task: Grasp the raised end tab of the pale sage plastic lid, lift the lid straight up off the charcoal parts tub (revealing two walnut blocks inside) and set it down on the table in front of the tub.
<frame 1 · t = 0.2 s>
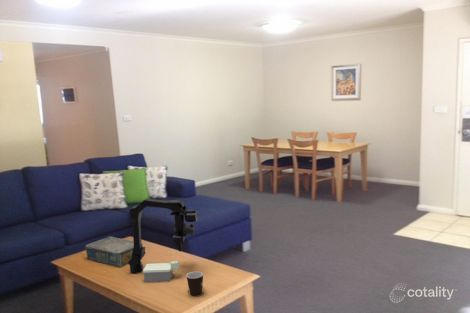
hand: (181, 248, 245), 14 cm above the table, fingers open, 9 cm apart
block b: (164, 278, 238), point 1 cm above the table, touching tub
tub: (159, 279, 238), on the table
lid: (158, 270, 237), point 5 cm above the table, touching tub
coffee mug: (197, 292, 220), on the table
block a: (153, 278, 238), point 1 cm above the table, touching tub
metal box: (115, 258, 276), on the table
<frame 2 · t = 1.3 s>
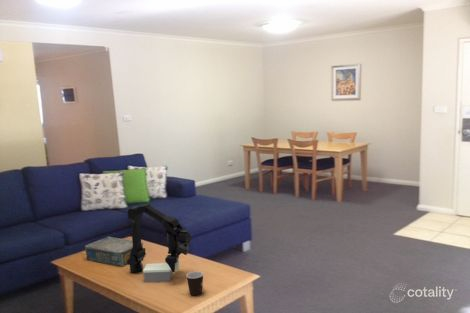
hand: (175, 268, 237), 6 cm above the table, fingers open, 9 cm apart
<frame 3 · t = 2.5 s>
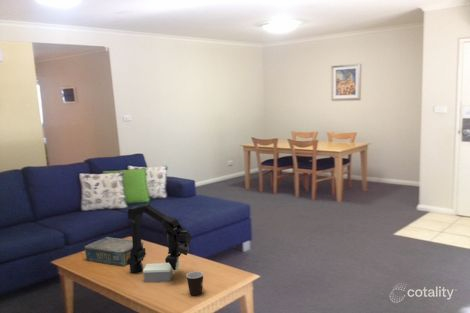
hand: (175, 268, 237), 6 cm above the table, fingers closed on lid, 3 cm apart
lid: (158, 270, 237), point 5 cm above the table, touching gripper, tub
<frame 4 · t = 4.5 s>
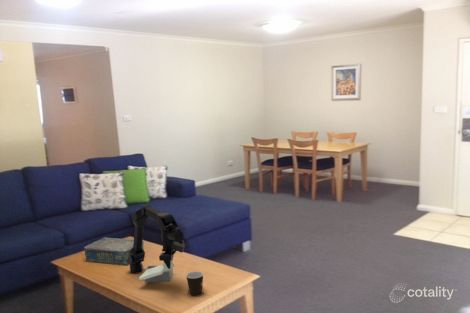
hand: (170, 267, 223), 12 cm above the table, fingers closed on lid, 4 cm apart
lid: (155, 273, 227), point 8 cm above the table, tilted 21°, touching gripper, tub
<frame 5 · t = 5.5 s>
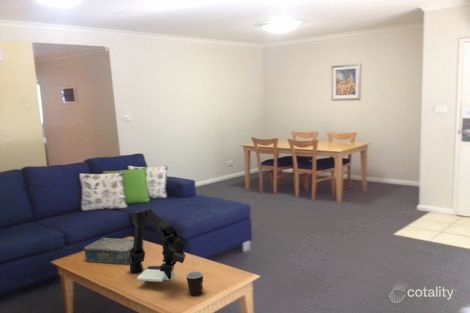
hand: (170, 277, 224), 7 cm above the table, fingers closed on lid, 4 cm apart
lid: (154, 277, 228), point 5 cm above the table, tilted 6°, touching gripper, tub
when the fingers open (2 cm above the table, at t = 7.0 s): lid stays where it is, on the table.
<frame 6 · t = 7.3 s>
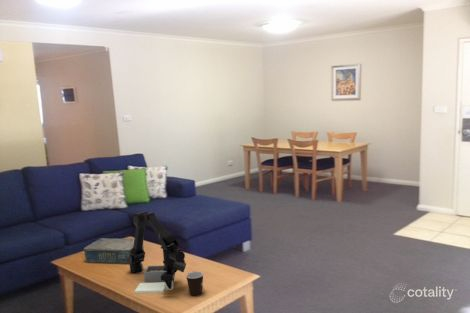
hand: (171, 285, 224), 2 cm above the table, fingers open, 6 cm apart
lid: (151, 290, 225), on the table
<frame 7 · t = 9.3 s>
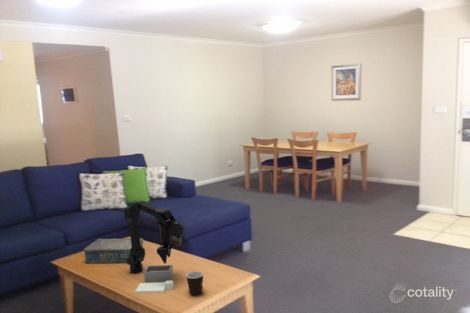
hand: (167, 260, 234), 12 cm above the table, fingers open, 9 cm apart
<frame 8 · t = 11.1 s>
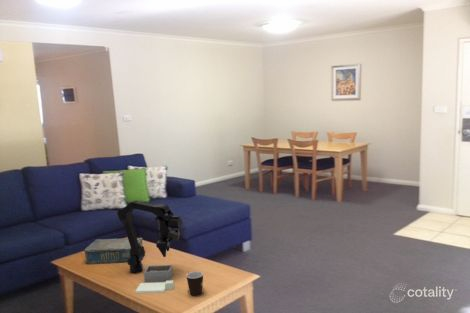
hand: (166, 253, 241), 13 cm above the table, fingers open, 9 cm apart
at the end: lid inside the target area (0.9 cm from its centre), on the table; lid touching table; lid tilted 0° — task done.
